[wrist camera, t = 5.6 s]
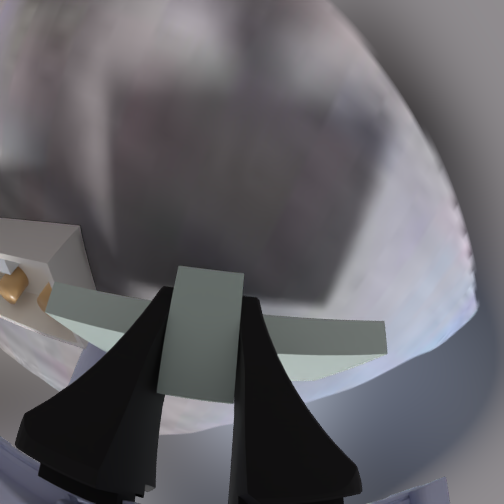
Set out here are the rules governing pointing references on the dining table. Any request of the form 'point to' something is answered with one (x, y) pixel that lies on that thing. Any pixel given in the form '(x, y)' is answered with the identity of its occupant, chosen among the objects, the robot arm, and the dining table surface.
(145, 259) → the dining table surface
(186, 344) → the lid
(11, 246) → the tub
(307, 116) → the dining table surface
